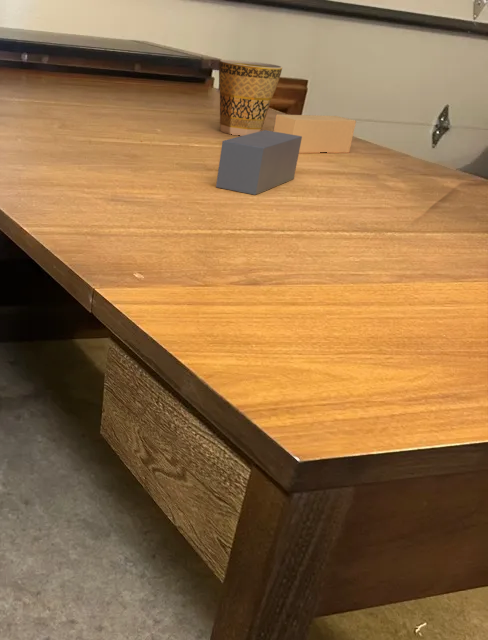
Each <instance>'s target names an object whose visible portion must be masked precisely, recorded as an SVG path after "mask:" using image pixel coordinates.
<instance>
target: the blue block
mask: <svg viewBox="0 0 488 640" xmlns="http://www.w3.org/2000/svg"><path fill="white" fill-rule="evenodd" d="M301 140H302V136H297V135H291V134H285V133H279V132H274V130H266V129H264V130H261V131H260V132H256V133H252V134H248V135H244V136H236V137H233V138H229V139H225V140H222V141H221V142H222V143H221V149H220V155H219V161H218V171H217V178H216V184H215V187H216V188H218V189H223V190H227V191H233V192H238V193H242V194H248V195H253V196H256V195H259V194H261V193H264V192H266V191H269V190H270V189H273V188H276V187H278V186H280V185H283V184H285V183H287V182H290V181H293V180H294V179H295V175H296V170H297V165H298V159H299V154H300V153H299V150H300V145H301Z"/></svg>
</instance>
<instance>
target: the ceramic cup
mask: <svg viewBox="0 0 488 640" xmlns="http://www.w3.org/2000/svg"><path fill="white" fill-rule="evenodd" d="M282 71H283V67H282V66H281V65H277V64H272V63H265V62H258V61H252V60H251V61H250V60H241V59H220V60H219V61H218V85H219V86H218V88H219V130H220V133H224V134H228V135H231V134H232V135H231V136H238V135H240V136H244V135H248V134H252V133H256V132H260V131H263V127H264V124H265V120H266V117H267V114H268V112H269V108H270V105H271V102H272V99H273V96H274V95H275V92H276V89H277V87H278V83H279V82H280V79H281V75H282ZM240 136H239V137H240Z"/></svg>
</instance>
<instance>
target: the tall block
mask: <svg viewBox="0 0 488 640" xmlns="http://www.w3.org/2000/svg"><path fill="white" fill-rule="evenodd" d="M356 125H357V121H356V120H355V119H350V118H347V117H343V116H339V115H319V114H318V115H316V114H315V115H313V114H312V115H311V114H276V116H275V121H274V128H273V132H279V133H285V134H291V135H297V136H302V140H301V145H300V150H299V154H321V153H320V152H327V153H326V154H349V153H350V150H351V146H352V143H353V137H354V132H355V129H356Z"/></svg>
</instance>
